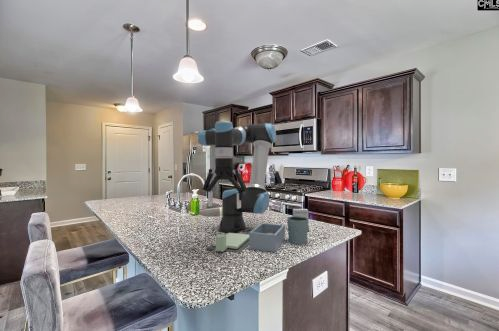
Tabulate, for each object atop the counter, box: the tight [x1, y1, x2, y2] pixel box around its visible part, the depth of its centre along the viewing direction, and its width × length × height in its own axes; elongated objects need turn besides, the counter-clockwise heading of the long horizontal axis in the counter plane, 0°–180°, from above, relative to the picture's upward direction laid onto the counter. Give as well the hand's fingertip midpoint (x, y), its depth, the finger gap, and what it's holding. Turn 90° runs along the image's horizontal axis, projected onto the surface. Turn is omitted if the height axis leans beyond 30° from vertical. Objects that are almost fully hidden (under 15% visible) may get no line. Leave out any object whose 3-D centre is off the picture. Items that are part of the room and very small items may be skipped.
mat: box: [206, 240, 249, 254], centre depth 118 cm, size 16×22×1 cm
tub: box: [248, 222, 286, 253], centre depth 116 cm, size 12×18×8 cm, turn 160°
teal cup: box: [286, 215, 309, 246], centre depth 120 cm, size 10×10×12 cm
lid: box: [211, 232, 249, 252], centre depth 115 cm, size 12×23×7 cm, turn 160°
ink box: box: [292, 208, 310, 232], centre depth 143 cm, size 9×5×12 cm, turn 84°
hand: (224, 207), depth 107 cm, fingers open, 13 cm apart
